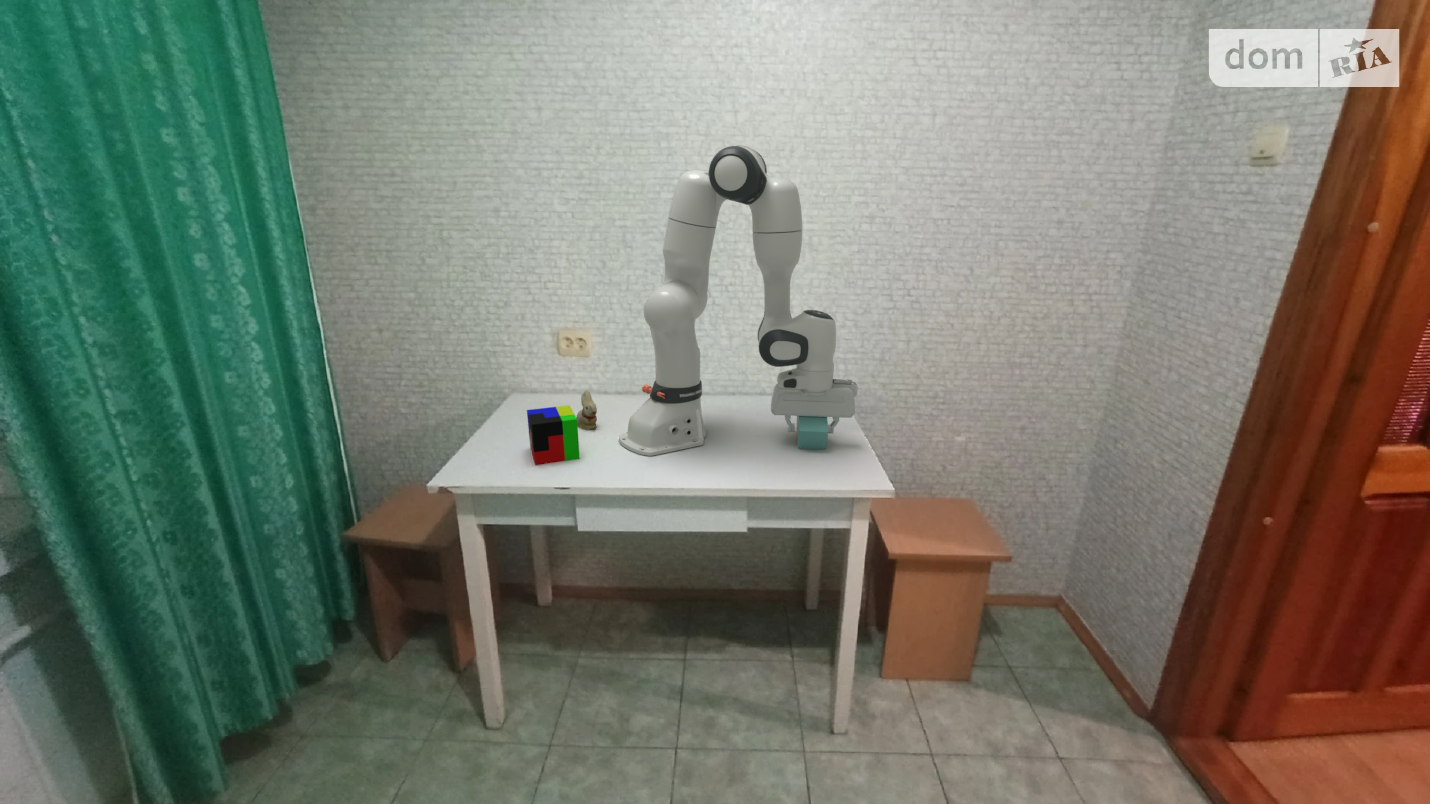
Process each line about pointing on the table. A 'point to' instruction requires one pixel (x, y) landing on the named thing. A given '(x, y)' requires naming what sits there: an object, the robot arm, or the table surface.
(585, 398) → the chocolate bunny
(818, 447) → the teal rectangular box
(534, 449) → the puzzle toy
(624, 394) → the table surface
